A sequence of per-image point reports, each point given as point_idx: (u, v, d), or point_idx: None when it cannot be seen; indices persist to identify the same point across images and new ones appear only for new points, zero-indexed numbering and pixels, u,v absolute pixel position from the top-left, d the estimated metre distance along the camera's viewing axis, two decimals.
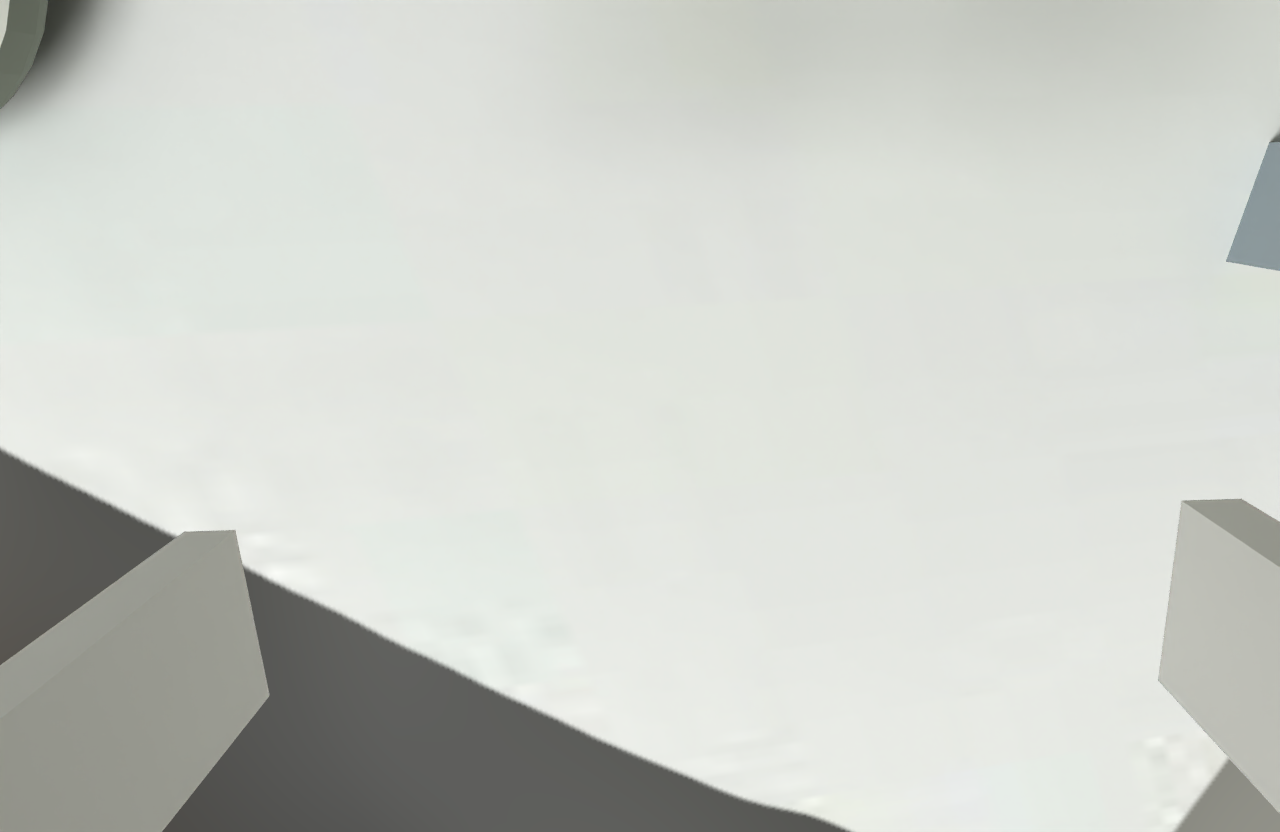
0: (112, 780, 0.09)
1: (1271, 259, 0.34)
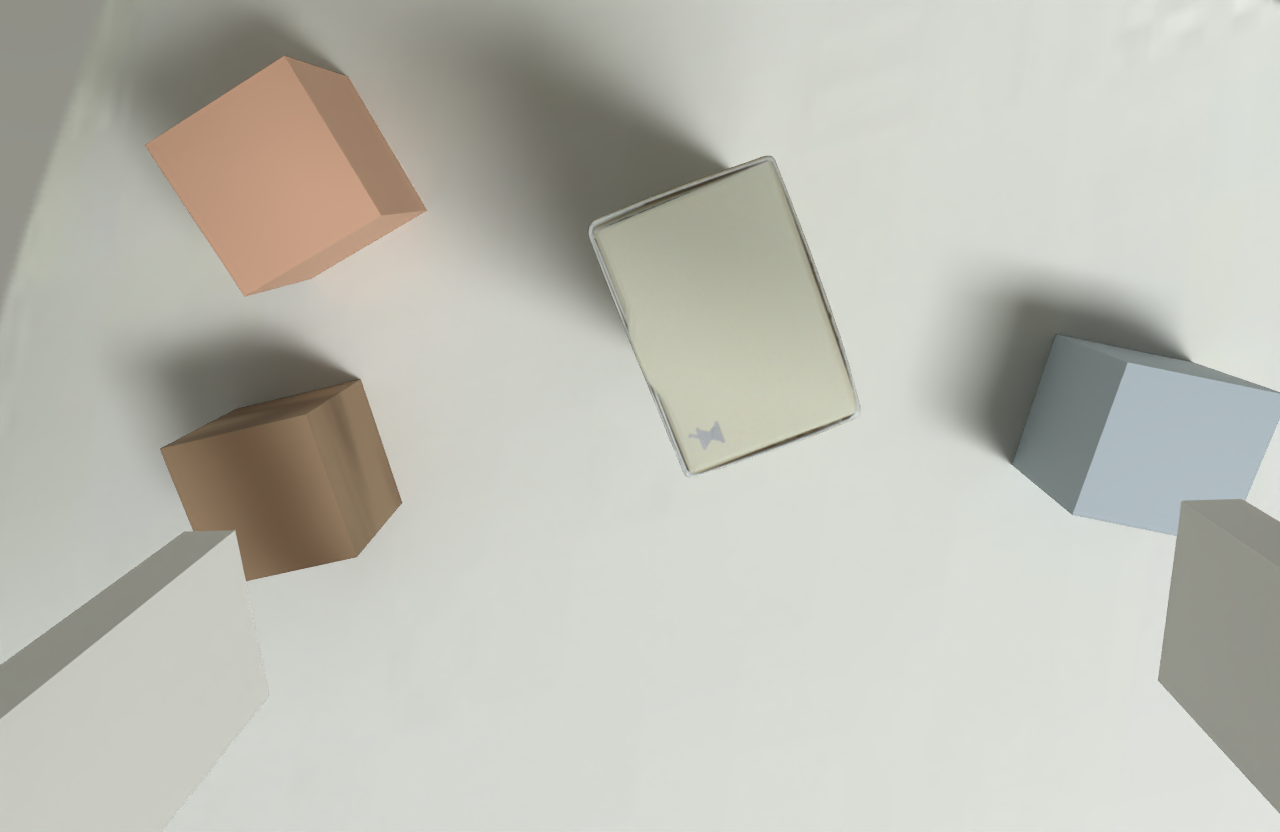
0: (112, 780, 0.09)
1: None
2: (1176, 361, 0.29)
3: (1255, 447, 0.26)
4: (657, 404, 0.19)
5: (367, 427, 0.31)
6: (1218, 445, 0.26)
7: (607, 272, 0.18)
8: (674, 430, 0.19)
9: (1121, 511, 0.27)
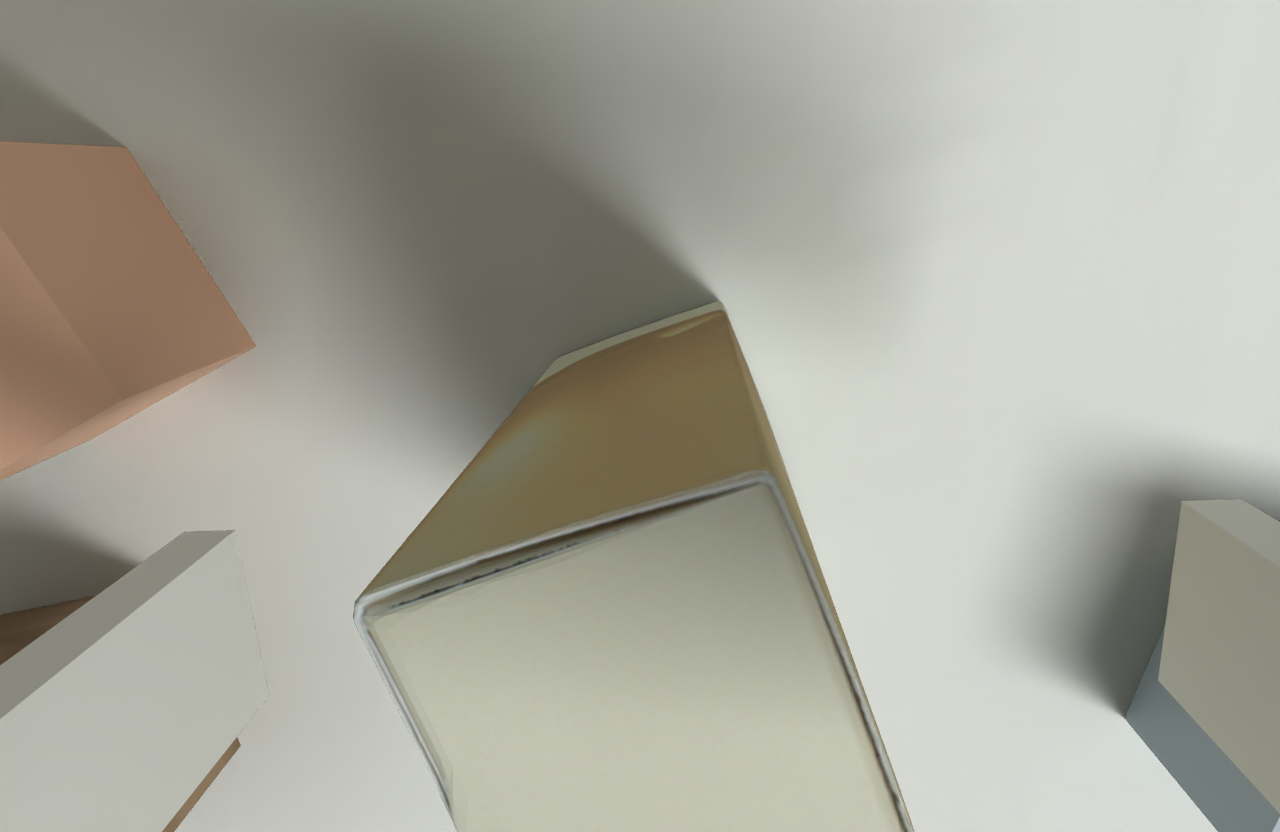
0: (112, 780, 0.09)
1: None
2: None
3: None
4: None
5: None
6: None
7: (400, 697, 0.08)
8: None
9: None
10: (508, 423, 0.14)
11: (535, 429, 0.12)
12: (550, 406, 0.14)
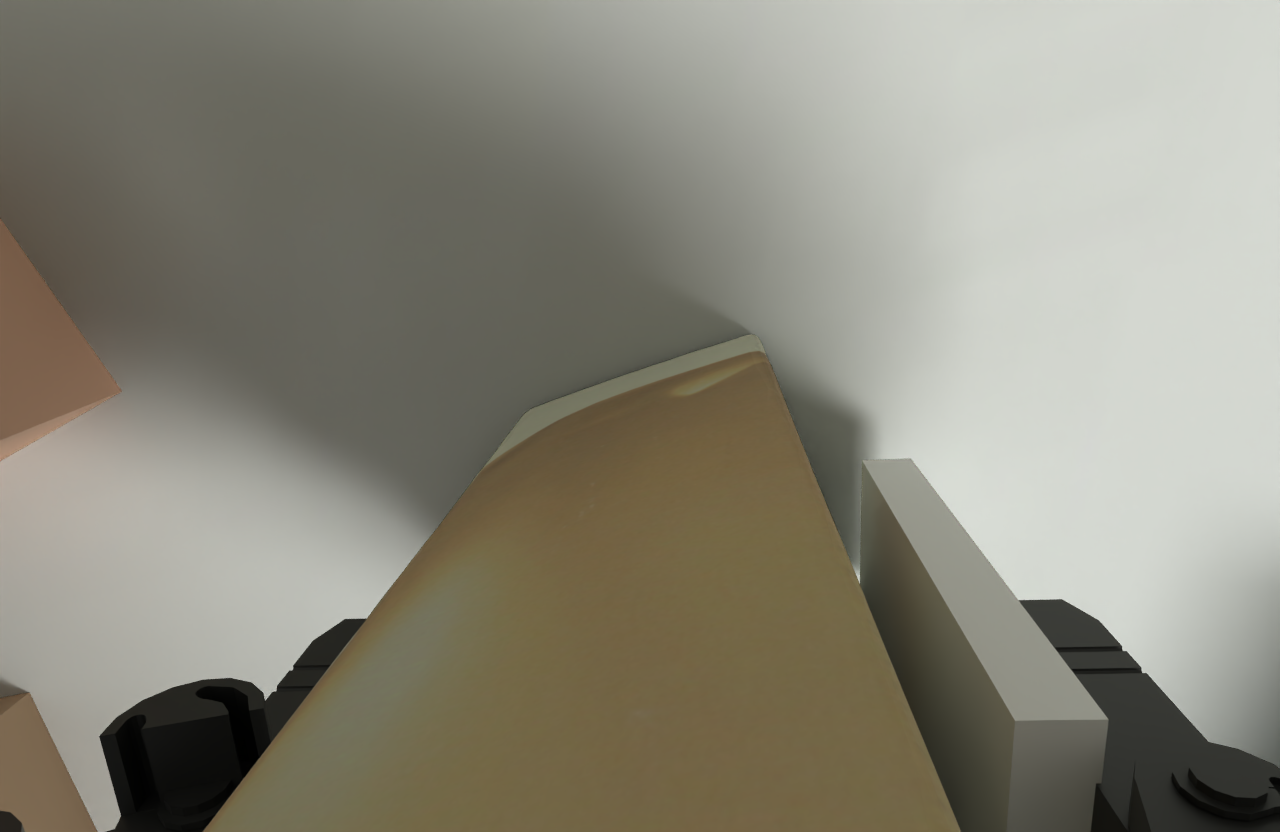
0: None
1: None
2: None
3: None
4: None
5: (36, 791, 0.16)
6: None
7: None
8: None
9: None
10: (424, 557, 0.08)
11: (453, 597, 0.07)
12: (493, 530, 0.08)
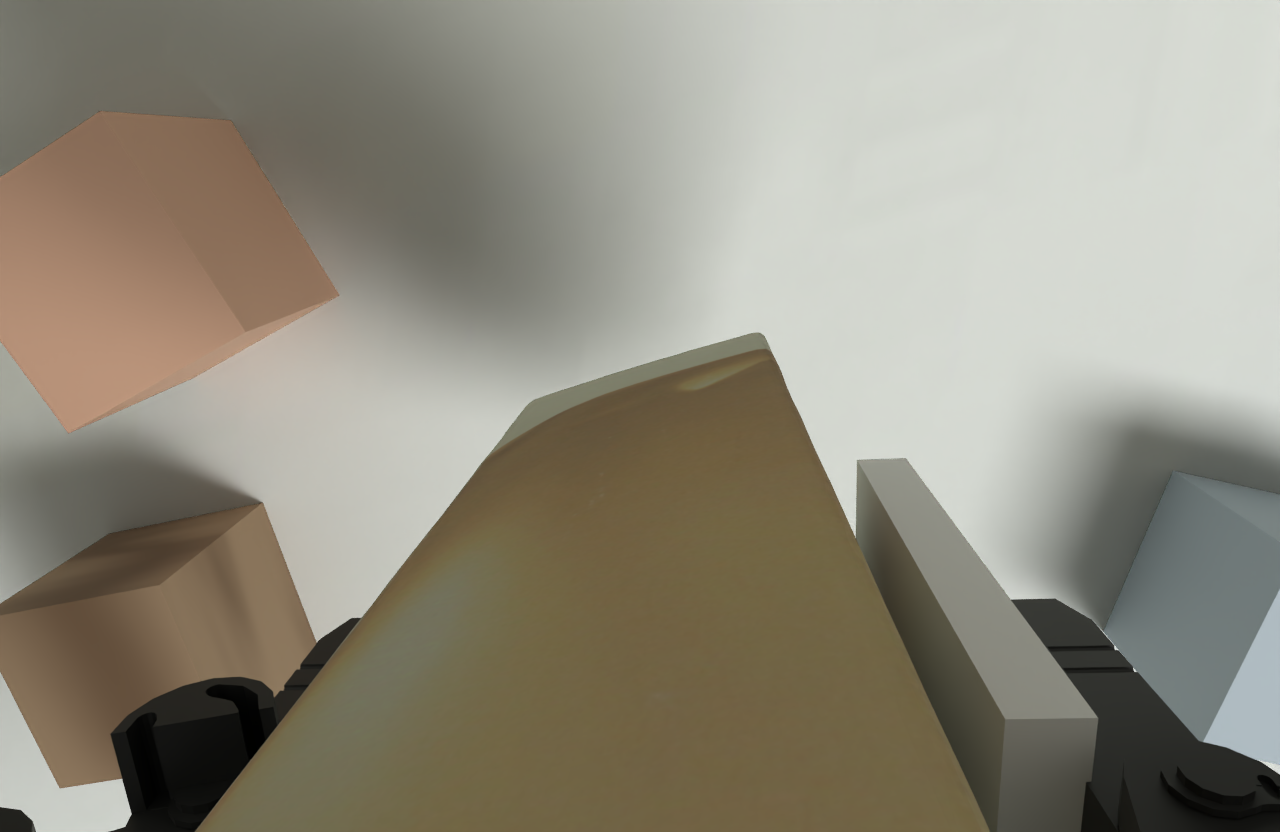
0: None
1: None
2: None
3: None
4: None
5: (270, 566, 0.24)
6: None
7: None
8: None
9: (1270, 745, 0.19)
10: (432, 541, 0.08)
11: (464, 580, 0.07)
12: (501, 516, 0.08)
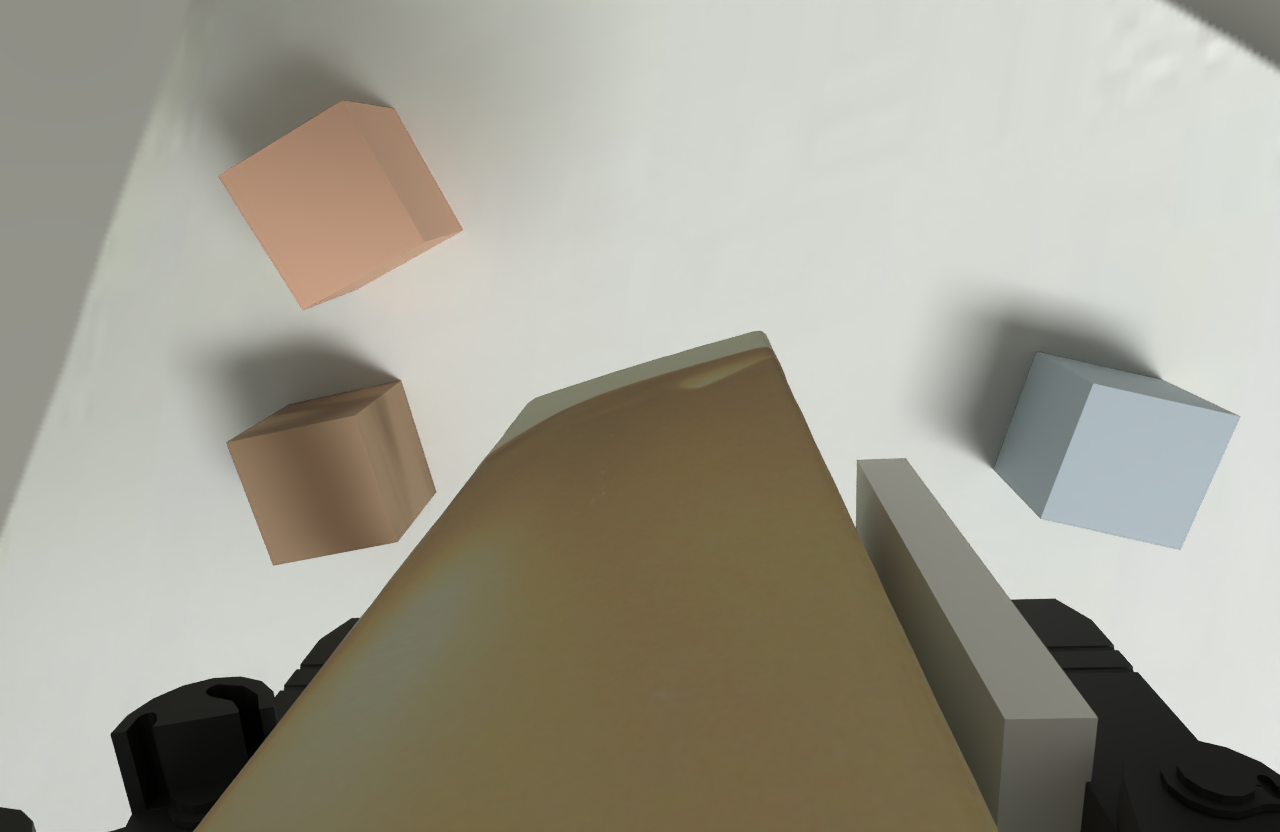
0: None
1: None
2: (1145, 379, 0.32)
3: (1208, 462, 0.29)
4: None
5: (407, 424, 0.34)
6: (1174, 460, 0.29)
7: None
8: None
9: (1085, 516, 0.29)
10: (432, 539, 0.08)
11: (465, 578, 0.07)
12: (502, 514, 0.08)
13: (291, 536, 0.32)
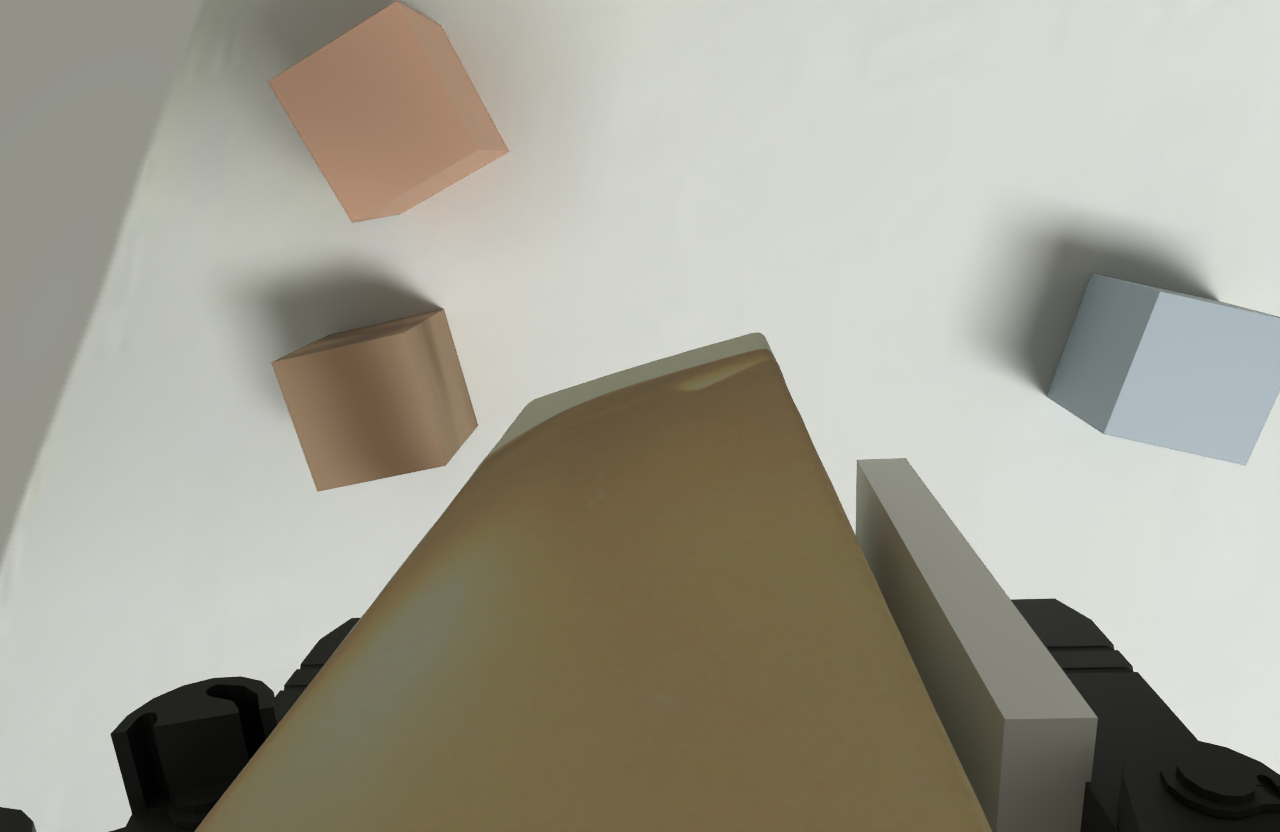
0: None
1: None
2: (1204, 298, 0.31)
3: (1276, 373, 0.28)
4: None
5: (450, 353, 0.34)
6: (1241, 371, 0.28)
7: None
8: None
9: (1149, 431, 0.29)
10: (431, 542, 0.08)
11: (463, 581, 0.07)
12: (501, 516, 0.08)
13: (336, 460, 0.31)
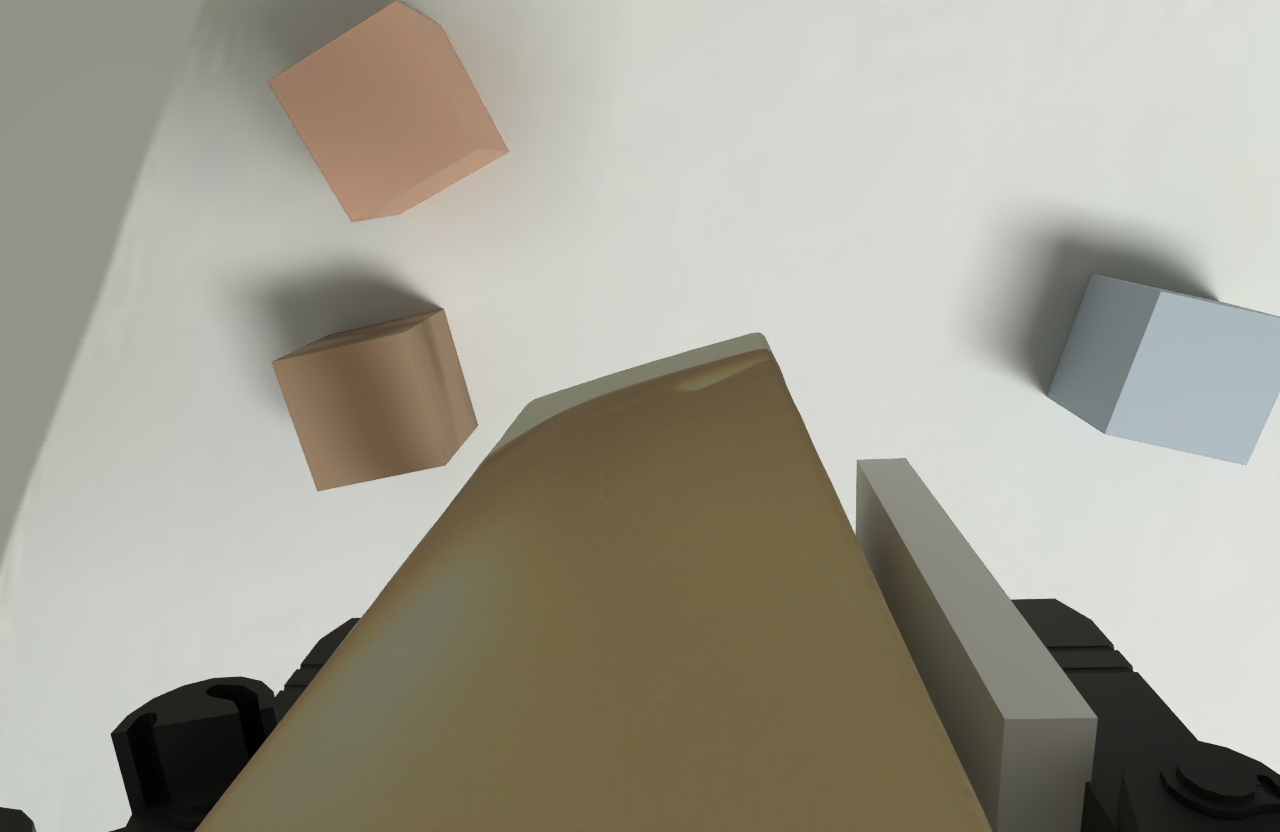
0: None
1: None
2: (1204, 298, 0.31)
3: (1276, 373, 0.28)
4: None
5: (450, 353, 0.34)
6: (1242, 371, 0.28)
7: None
8: None
9: (1150, 431, 0.29)
10: (431, 542, 0.08)
11: (464, 581, 0.07)
12: (501, 516, 0.08)
13: (336, 460, 0.31)
